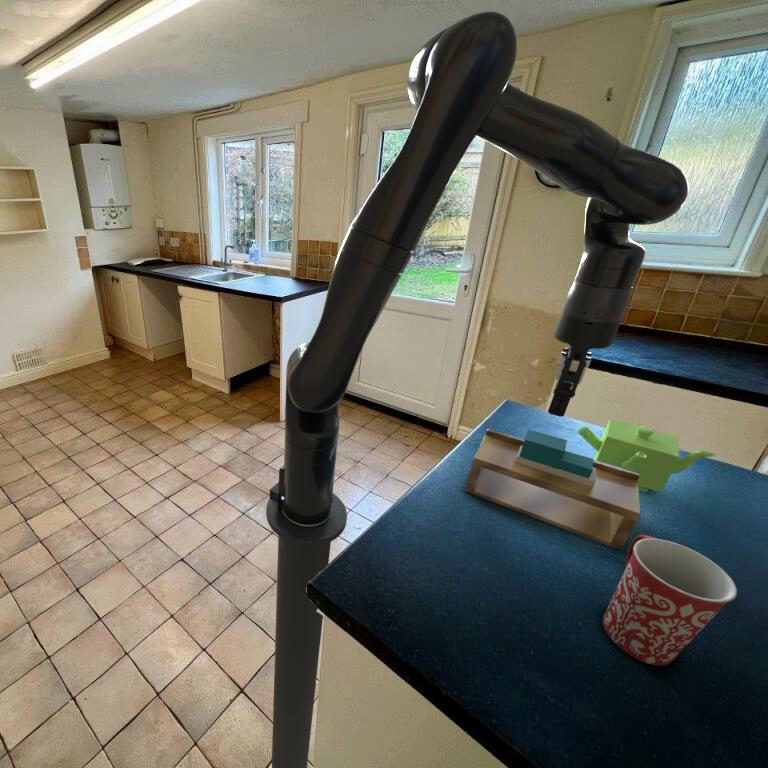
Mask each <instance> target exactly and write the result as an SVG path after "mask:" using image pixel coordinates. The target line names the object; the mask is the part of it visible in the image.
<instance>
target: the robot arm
mask: <svg viewBox="0 0 768 768" xmlns="http://www.w3.org/2000/svg"><path fill="white" fill-rule="evenodd" d="M517 53H518V39H517V33H516V31H515V26H514V25H513V23H512V22H511V20H510V19H509V18H508V17H507V16H505V14H502V13H500V12H497V11H483V12H478V13H474V14H472V15H469V16H467V17H466V16H465V18H462V19H460V20H458V21H456V22H455V23H453V24H452V25H450V26H448V27H447V28H445V29H444V30H441V31H439V32H438V33H437V34H435V35H434V36H433V37H431V38H430V39H429V40H428V41H426V42H425V43H424V44H423V45H422V46H421V47H420V48H419V50H418V51H417V52H416V54H415V56H414V57H413V59H412V60H411V64H410V66H409V70H408V74H407V84H406V85H407V93H408V96H409V100H410V102H411V104H412V106H413V108H414V109H415V110H416V114H415V117H414V119H413V121H412V124H411V126H410V129H409V131H408V133H407V135H406V137H405V139H404V142H403V144H402V146H401V148H400V149H399V151H398V153H397V154H396V156H395V157H394V159H393V161H391V163H390V165H389V166H388V168H387V169H386V170H385V172H384V173H383V174H382V176H380V178H379V180H378V181H377V182H376V184H374V186H373V188H372V189H371V191H370V192H369V193H368V195H367V196H366V198H365V199H364V200H363V202H362V203H361V205H360V207H359V209H358V210H357V212H356V215H355V216H354V218H353V220H352V222H351V224H350V226H349V228H348V231H347V233H346V236H345V237H344V239H343V243H342V245H341V247H340V250H339V252H338V255H337V256H336V257H337V258H336V260H335V262H334V267H333V270H332V272H331V277H330V280H329V284H328V287H327V293H326V297H325V302H324V305H323V309H322V313H321V316H320V319H319V322H318V325H317V327H316V329H315V331H314V333H313V335H312V337H311V339H310V341H309V342H306V343H303V344H301V345H299V346H298V347H296V348H295V349H294V350H293V352H291V354H290V356H289V358H288V360H287V363H286V375H285V380H286V381H285V405H284V406H285V408H284V446H283V448H284V449H283V451H284V452H283V465H282V466H281V467H279V469H278V482H277V483H275V484H274V485H273V486H272V487H271V488H270V489H269V499H270V500H272V501H274V502H276V503H278V509H279V510H281V511H282V513H283V515H284V517H285V518H286V519H287V520H288V521H289V522H290V523H292V524H293V525H296V526H298V527H302V528H316V527H319V526H322V525H324V524H325V523H326V522H327V521H328V520H329V518H330V516H331V506H332V505H331V503H332V504H333V498H332V494H333V493H334V482H335V473H336V464H337V463H336V462H337V452H338V442H339V435H340V434H339V433H340V411H339V410H340V409H339V406H340V402H341V400H342V399H343V397H344V396H345V394H346V392H347V389H348V387H349V384H350V383H351V382H350V381H351V379H352V376H353V373H354V371H355V368H356V366H357V363H358V361H359V358H360V355H361V353H362V351H363V348H364V346H365V343H366V341H367V339H368V337H369V336H370V334H371V333H372V330H373V328H374V327H375V325H376V324H377V322H378V320H379V318H380V316H381V315H382V313H383V311H384V309H385V307H386V305H387V303H388V302H389V299H390V298H391V295H392V294H393V292H394V290H395V289H396V287H397V285H398V283H399V281H400V280H401V278H402V276H403V274H404V273H405V270H406V268H407V266H408V264H409V262H410V261H411V259H412V257H413V255H414V252H415V251H416V250H417V247H418V244H419V242H420V240H421V238H422V235H423V234H424V232H425V230H426V228H427V226H428V224H429V222H430V221H431V218H432V216H433V214H434V213H435V211H436V209H437V207H438V205H439V203H440V201H441V199H442V197H443V195H444V193H445V191H446V189H447V187H448V184H449V183H450V181H451V179H452V177H453V175H454V173H455V172H456V169H457V168H458V166H459V164H460V163H461V161H462V159H463V158H464V156H465V155H466V152H467V151H468V149H469V148H470V146H471V145H472V143H473V141H474V140H475V138H476V137H477V138H478V139H481V140H484V141H486V142H487V143H489V144H491V145H493V146H494V147H497V148H499V149H500V150H502V151H504V152H505V153H507V154H509V155H511V156H512V157H514V158H515V159H517V160H519V161H520V162H522V163H523V164H525V165H527V166H529V168H532V169H533V170H534V171H536V172H537V173H539V174H541V175H542V176H544V177H545V178H547V179H548V180H550V181H551V182H552V183H554V184H556V185H557V186H559V187H560V188H562V189H564V190H565V191H567V192H568V193H571V194H572V195H575V196H579V197H582V198H588V199H587V202H586V206H585V207H586V208H585V213H584V230H583V231H584V232H583V254H582V257H581V259H580V263H579V264H578V265H579V266H578V269H577V272H576V274H575V277H574V280H573V283H572V285H571V286H570V289H569V290H568V293H567V295H566V298H565V301H564V303H563V307H562V310H561V312H560V314H559V319H558V321H557V324H556V328H555V330H554V333H553V334H554V335H553V336H554V338H555V339H556V340H557V341H559V342H561V343H563V344H567V345H568V347H562V349H561V352H560V356H559V359H558V367H557V371H556V374H555V377H554V379H555V380H556V383H555V386H554V388H553V391H552V393H553V396H552V399H551V401H550V404H549V407H548V411H547V413H548V414H549V415H552V416H556V417H559V418H561V417H564V416H565V414H566V411H567V409H568V406H569V404H570V401H571V399H573V398H574V397H575V396H576V391H577V389H578V386H579V385H581V384H582V381H583V380H584V377H585V373H586V371H587V369H588V368H589V367H590V365H591V362H592V358H593V357H592V355H593V353H592V352H589V350H592V349H596V350H603V349H607V348H610V347H611V346H612V345H613V343H614V340H615V338H616V336H617V333H618V331H619V328H620V326H621V323H622V320H623V318H624V316H625V313H626V311H627V308H628V305H629V303H630V299H631V295H632V291H633V288H634V285H635V283H636V280H637V279H638V276H639V273H640V270H641V268H642V266H643V263H644V260H645V258H646V257H645V256H646V249H645V248H644V247H643V245H641V244H639V243H637V242H635V241H634V240H632V239H631V238H630V225H635V226H636V225H637V226H648V225H654V224H659V223H661V222H663V221H665V220H667V219H669V218H671V217H673V216H674V215H675V214H677V212H679V211H680V210H681V208H682V207H683V205H684V204H685V202H686V200H687V199H688V194H689V182H688V178H687V176H686V175H685V173H684V172H683V171H682V170H681V168H679V167H678V166H677V165H675V164H673V163H671V162H670V161H668V160H666V159H664V158H661V157H659V156H656V155H654V154H651V153H648V152H646V151H643V150H641V149H638V148H634V147H631V146H629V145H627V144H624V143H623V142H622V141H620V140H619V138H617V137H616V136H614V135H613V134H612V133H610V132H609V131H607V130H606V129H605V128H603V127H602V126H601V125H599V124H597V123H596V122H594V121H593V120H592V119H589V118H588V117H586V116H584V115H582V114H580V113H578V112H576V111H574V110H571V109H569V108H567V107H564V106H561V105H557V104H554V103H552V102H549V101H546V100H543V99H540V98H538V97H536V96H533V95H531V94H528V93H527V92H525V91H522V90H521V89H519V88H517V87H516V86H514V85H512V84H511V83H509V81H510V79H511V76H512V73H513V71H514V68H515V65H516V59H517Z"/></svg>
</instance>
